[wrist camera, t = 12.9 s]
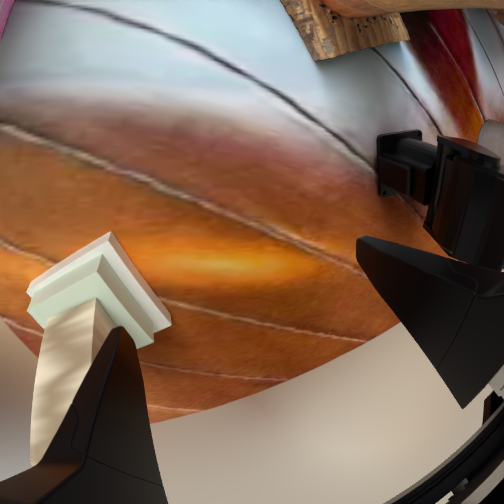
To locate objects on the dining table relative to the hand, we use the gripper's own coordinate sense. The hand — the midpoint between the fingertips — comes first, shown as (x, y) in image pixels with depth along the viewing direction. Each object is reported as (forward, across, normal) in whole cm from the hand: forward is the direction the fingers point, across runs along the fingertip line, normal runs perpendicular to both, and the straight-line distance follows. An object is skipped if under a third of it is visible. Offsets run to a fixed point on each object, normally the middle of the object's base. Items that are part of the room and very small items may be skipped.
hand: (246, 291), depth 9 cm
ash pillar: (+9, +12, +6) cm, 16 cm away
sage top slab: (+11, +12, +6) cm, 18 cm away
